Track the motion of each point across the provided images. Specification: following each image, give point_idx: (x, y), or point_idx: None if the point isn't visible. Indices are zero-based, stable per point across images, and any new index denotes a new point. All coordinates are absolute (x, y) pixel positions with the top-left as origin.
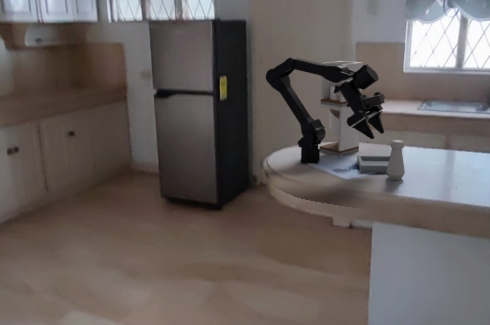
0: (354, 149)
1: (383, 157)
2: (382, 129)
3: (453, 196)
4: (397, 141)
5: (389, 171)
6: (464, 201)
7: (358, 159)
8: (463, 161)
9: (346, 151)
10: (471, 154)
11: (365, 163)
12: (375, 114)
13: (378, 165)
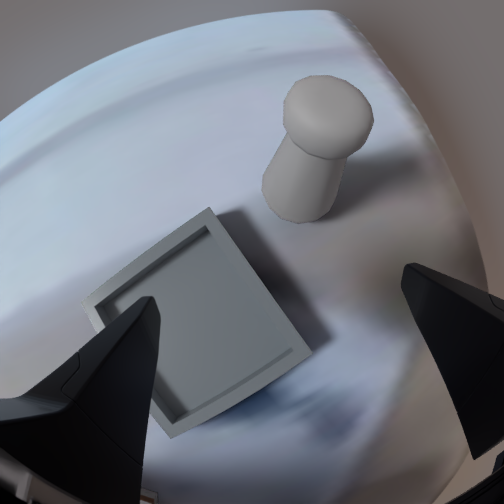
0: None
1: None
2: (144, 314)
3: (324, 43)
4: (351, 95)
5: (336, 195)
6: (335, 29)
7: (216, 414)
8: (19, 138)
9: None
10: None
11: (207, 379)
12: (51, 482)
13: (262, 288)
